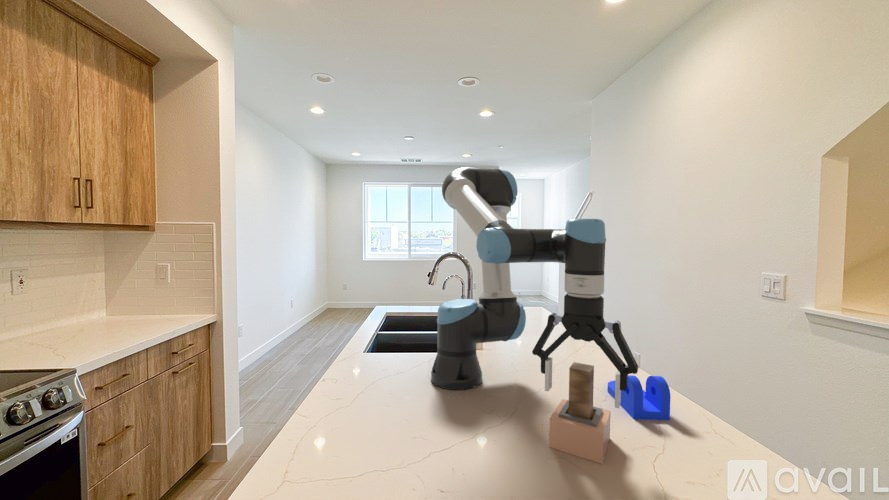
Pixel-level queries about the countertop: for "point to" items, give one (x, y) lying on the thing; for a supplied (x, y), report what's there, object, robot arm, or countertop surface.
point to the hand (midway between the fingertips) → (581, 396)
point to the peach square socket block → (580, 432)
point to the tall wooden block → (581, 390)
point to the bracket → (645, 398)
